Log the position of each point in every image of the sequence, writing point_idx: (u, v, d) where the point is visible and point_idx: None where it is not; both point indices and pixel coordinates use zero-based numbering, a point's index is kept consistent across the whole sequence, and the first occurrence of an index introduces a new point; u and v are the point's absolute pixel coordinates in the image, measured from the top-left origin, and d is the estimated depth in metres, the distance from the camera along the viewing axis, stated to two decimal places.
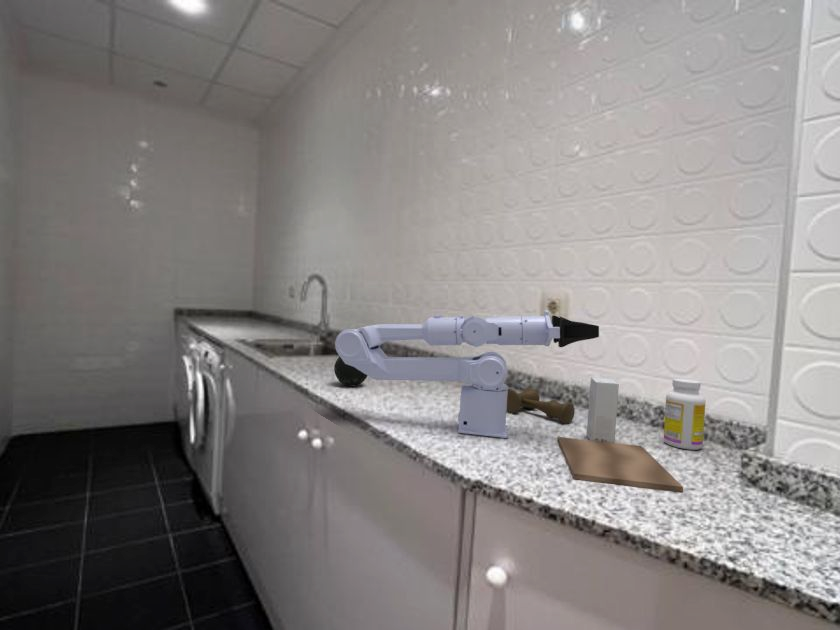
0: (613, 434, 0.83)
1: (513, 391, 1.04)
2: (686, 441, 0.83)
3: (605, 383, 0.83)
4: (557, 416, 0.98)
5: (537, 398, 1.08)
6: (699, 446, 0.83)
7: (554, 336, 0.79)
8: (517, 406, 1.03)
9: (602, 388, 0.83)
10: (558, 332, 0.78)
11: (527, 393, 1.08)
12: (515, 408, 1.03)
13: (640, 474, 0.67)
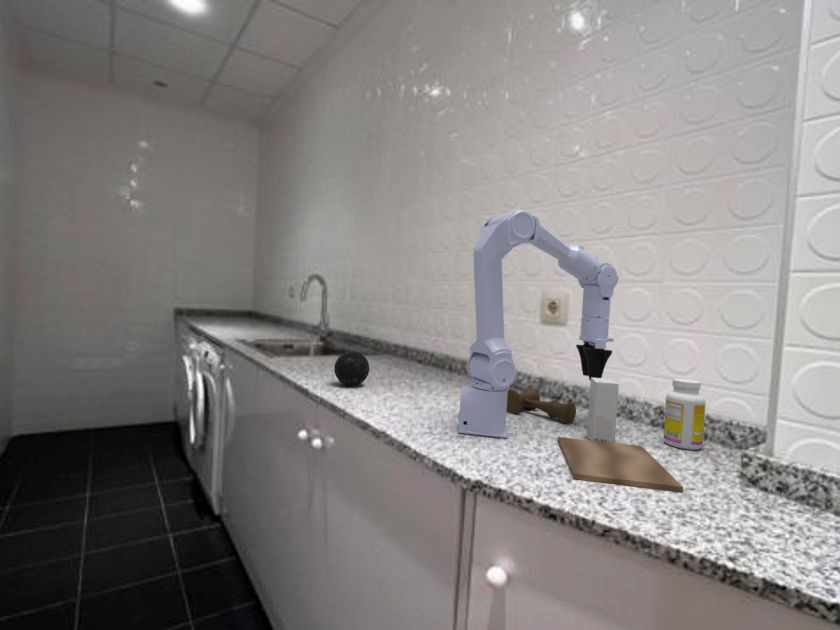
0: (613, 434, 0.83)
1: (514, 391, 1.04)
2: (686, 441, 0.83)
3: (605, 383, 0.83)
4: (559, 416, 0.98)
5: (538, 398, 1.08)
6: (699, 446, 0.83)
7: (597, 343, 0.90)
8: (519, 406, 1.03)
9: (602, 388, 0.83)
10: (601, 347, 0.90)
11: (528, 393, 1.08)
12: (517, 408, 1.03)
13: (640, 474, 0.67)
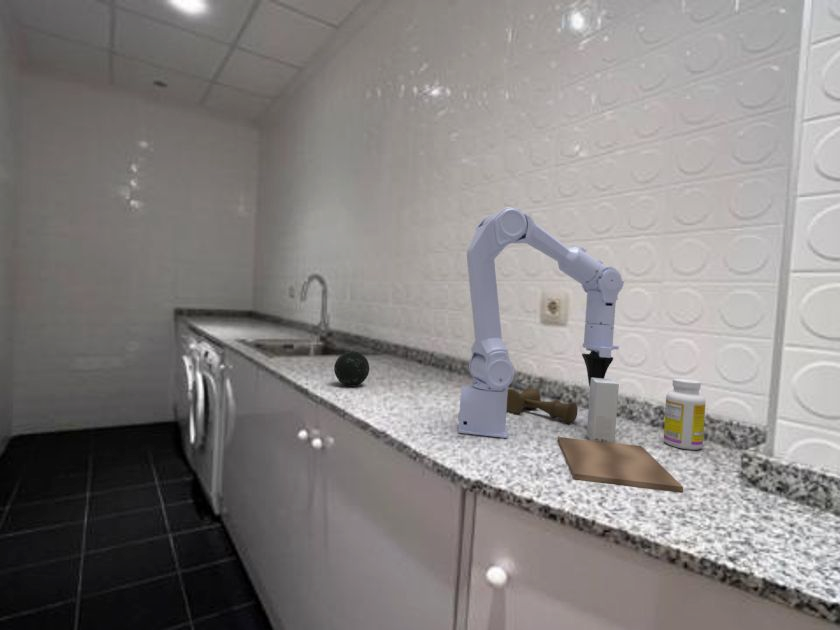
0: (613, 434, 0.83)
1: (516, 391, 1.04)
2: (686, 441, 0.83)
3: (605, 383, 0.83)
4: (561, 416, 0.98)
5: (538, 398, 1.08)
6: (699, 446, 0.83)
7: (602, 352, 0.86)
8: (520, 406, 1.03)
9: (602, 388, 0.83)
10: (605, 356, 0.86)
11: (528, 393, 1.08)
12: (518, 409, 1.03)
13: (640, 474, 0.67)
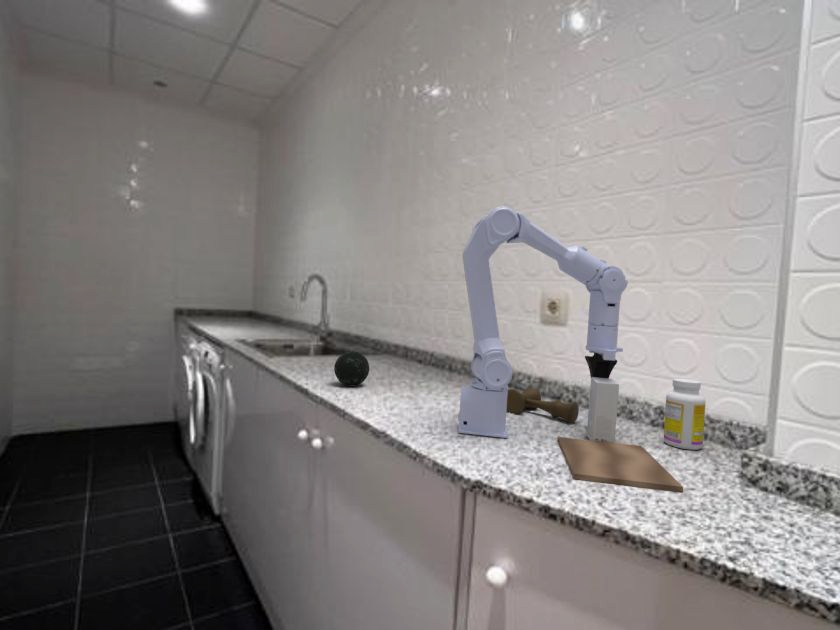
0: (613, 434, 0.83)
1: (517, 391, 1.04)
2: (686, 441, 0.83)
3: (605, 383, 0.83)
4: (563, 416, 0.99)
5: (539, 398, 1.09)
6: (699, 446, 0.83)
7: (606, 355, 0.83)
8: (521, 406, 1.03)
9: (602, 388, 0.83)
10: (610, 359, 0.83)
11: (529, 393, 1.08)
12: (520, 409, 1.03)
13: (640, 474, 0.67)
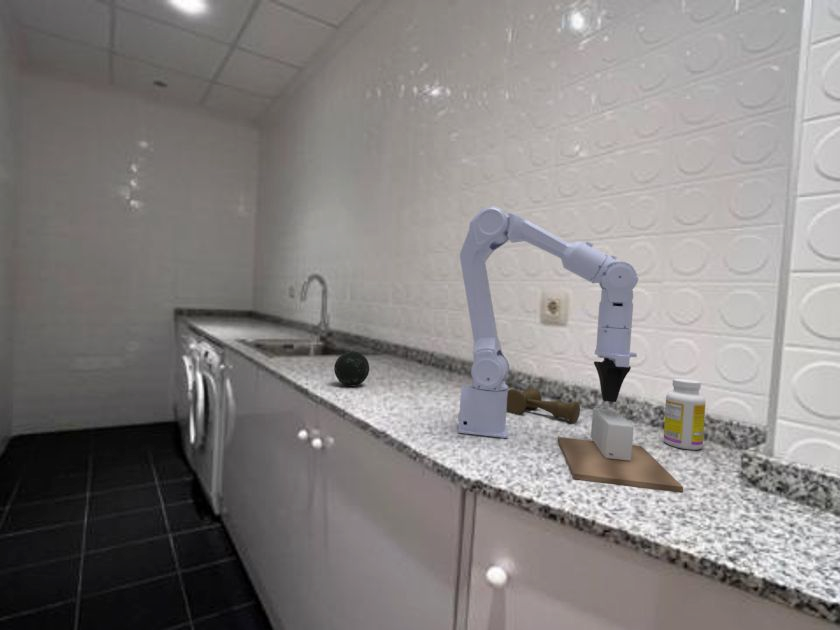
0: None
1: (518, 392, 1.04)
2: (686, 441, 0.83)
3: (615, 458, 0.73)
4: (565, 416, 0.99)
5: (539, 398, 1.09)
6: (699, 446, 0.83)
7: (619, 361, 0.74)
8: (523, 407, 1.03)
9: None
10: (623, 365, 0.74)
11: (530, 393, 1.08)
12: (521, 409, 1.03)
13: (640, 474, 0.67)
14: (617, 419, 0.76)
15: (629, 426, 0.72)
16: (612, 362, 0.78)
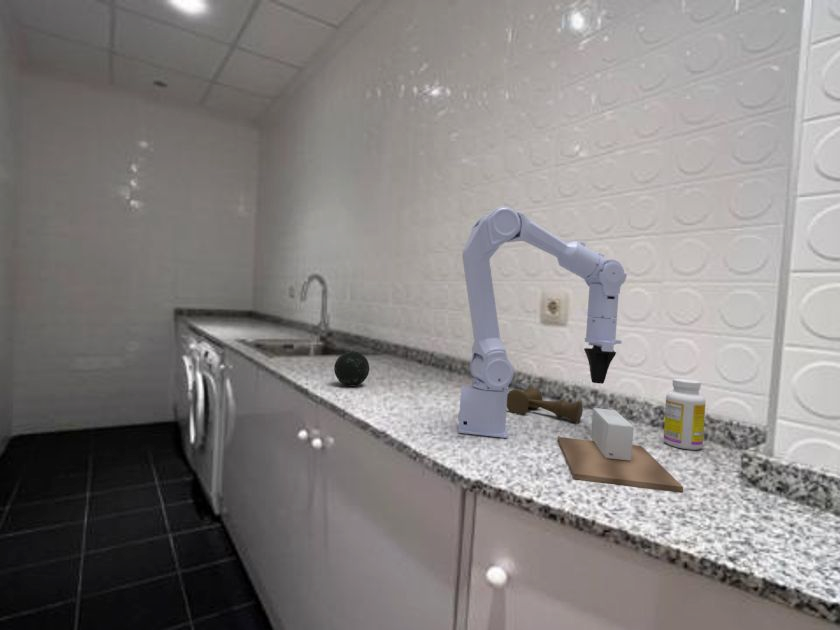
0: None
1: (521, 392, 1.04)
2: (686, 441, 0.83)
3: (615, 458, 0.73)
4: (568, 416, 0.99)
5: (540, 398, 1.09)
6: (699, 446, 0.83)
7: (604, 346, 0.84)
8: (526, 407, 1.03)
9: None
10: (608, 350, 0.84)
11: (531, 393, 1.08)
12: (524, 409, 1.03)
13: (640, 474, 0.67)
14: (617, 419, 0.76)
15: (629, 426, 0.72)
16: (599, 348, 0.89)
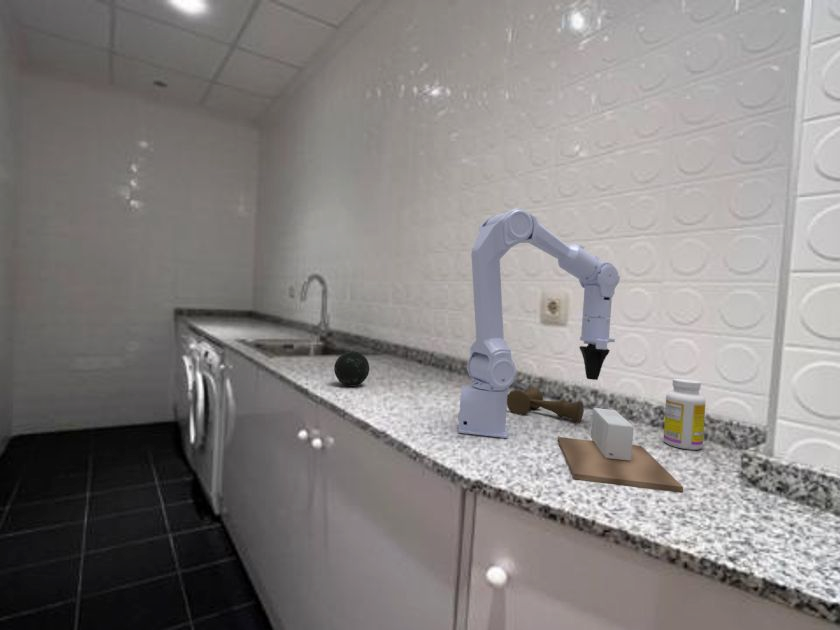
0: None
1: (523, 392, 1.03)
2: (686, 441, 0.83)
3: (615, 458, 0.73)
4: (570, 416, 0.99)
5: (541, 397, 1.09)
6: (699, 446, 0.83)
7: (598, 344, 0.89)
8: (528, 407, 1.03)
9: None
10: (602, 348, 0.89)
11: (532, 393, 1.09)
12: (526, 409, 1.03)
13: (640, 474, 0.67)
14: (617, 419, 0.76)
15: (629, 426, 0.72)
16: (594, 346, 0.94)
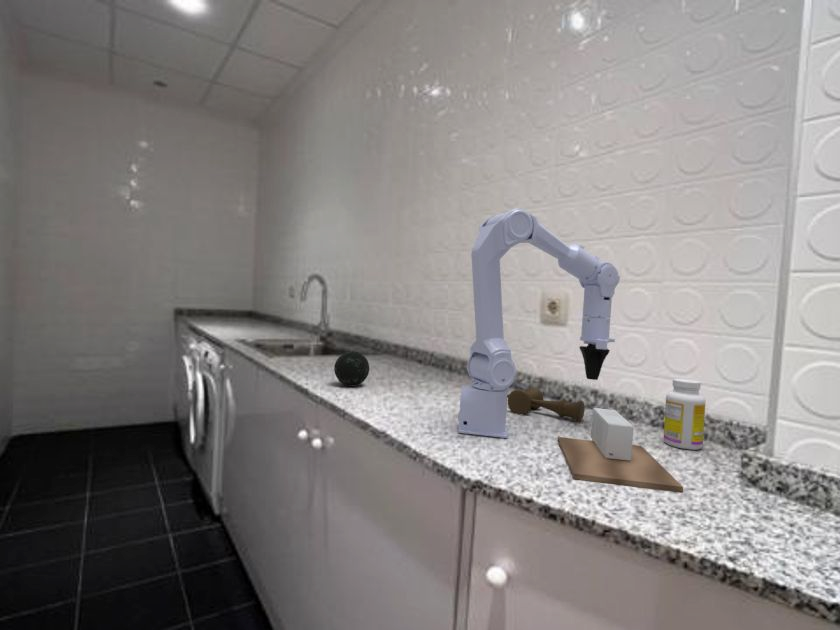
0: None
1: (524, 392, 1.03)
2: (686, 441, 0.83)
3: (615, 458, 0.73)
4: (571, 415, 1.00)
5: (541, 397, 1.09)
6: (699, 446, 0.83)
7: (598, 344, 0.89)
8: (529, 407, 1.03)
9: None
10: (602, 348, 0.89)
11: (532, 393, 1.09)
12: (527, 409, 1.03)
13: (640, 474, 0.67)
14: (617, 419, 0.76)
15: (629, 426, 0.72)
16: (594, 346, 0.94)
